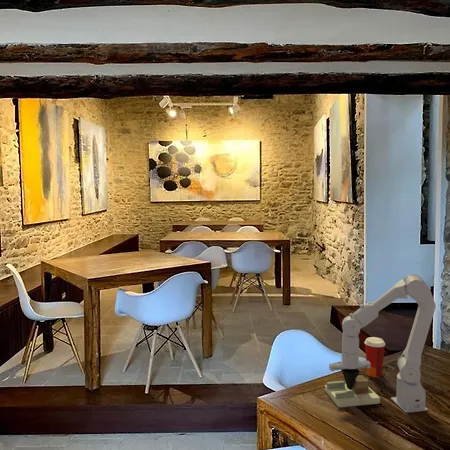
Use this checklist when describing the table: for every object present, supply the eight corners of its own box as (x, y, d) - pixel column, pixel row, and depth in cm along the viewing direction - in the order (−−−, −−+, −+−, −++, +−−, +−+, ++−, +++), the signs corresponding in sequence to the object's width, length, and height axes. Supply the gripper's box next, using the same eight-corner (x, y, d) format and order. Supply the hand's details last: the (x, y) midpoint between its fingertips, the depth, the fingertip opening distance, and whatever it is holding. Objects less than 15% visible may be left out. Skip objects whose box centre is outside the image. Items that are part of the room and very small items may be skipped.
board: (380, 403, 149) (380, 392, 149) (338, 407, 147) (338, 396, 147) (363, 387, 161) (363, 376, 161) (324, 390, 159) (324, 380, 158)
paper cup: (381, 370, 175) (382, 336, 173) (386, 379, 167) (387, 344, 166) (361, 370, 176) (362, 336, 174) (365, 378, 168) (366, 343, 167)
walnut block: (368, 393, 152) (368, 380, 152) (356, 394, 152) (356, 381, 151) (362, 387, 157) (362, 375, 156) (350, 388, 156) (350, 376, 156)
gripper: (364, 345, 157) (363, 381, 159) (326, 348, 155) (325, 384, 156) (374, 353, 150) (372, 390, 152) (334, 356, 148) (333, 394, 149)
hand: (349, 388), depth 154 cm, fingers closed
